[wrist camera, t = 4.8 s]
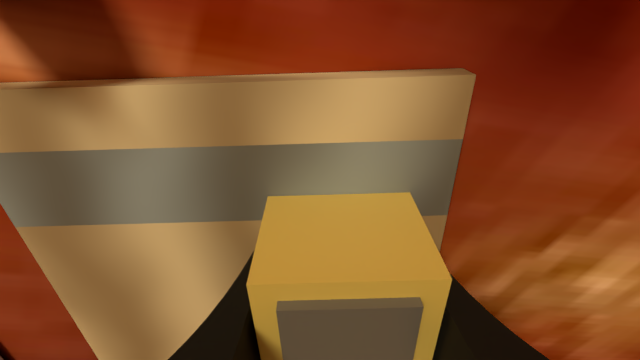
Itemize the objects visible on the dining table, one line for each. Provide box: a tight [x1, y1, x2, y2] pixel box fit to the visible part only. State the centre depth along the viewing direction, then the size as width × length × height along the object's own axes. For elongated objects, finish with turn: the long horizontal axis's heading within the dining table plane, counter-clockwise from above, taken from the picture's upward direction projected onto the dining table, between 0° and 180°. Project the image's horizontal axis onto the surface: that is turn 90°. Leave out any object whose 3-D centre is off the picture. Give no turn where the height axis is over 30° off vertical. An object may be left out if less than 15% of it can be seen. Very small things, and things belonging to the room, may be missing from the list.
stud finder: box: [246, 192, 452, 360], centre depth 11 cm, size 5×6×4 cm
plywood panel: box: [0, 68, 476, 360], centre depth 15 cm, size 16×21×1 cm
